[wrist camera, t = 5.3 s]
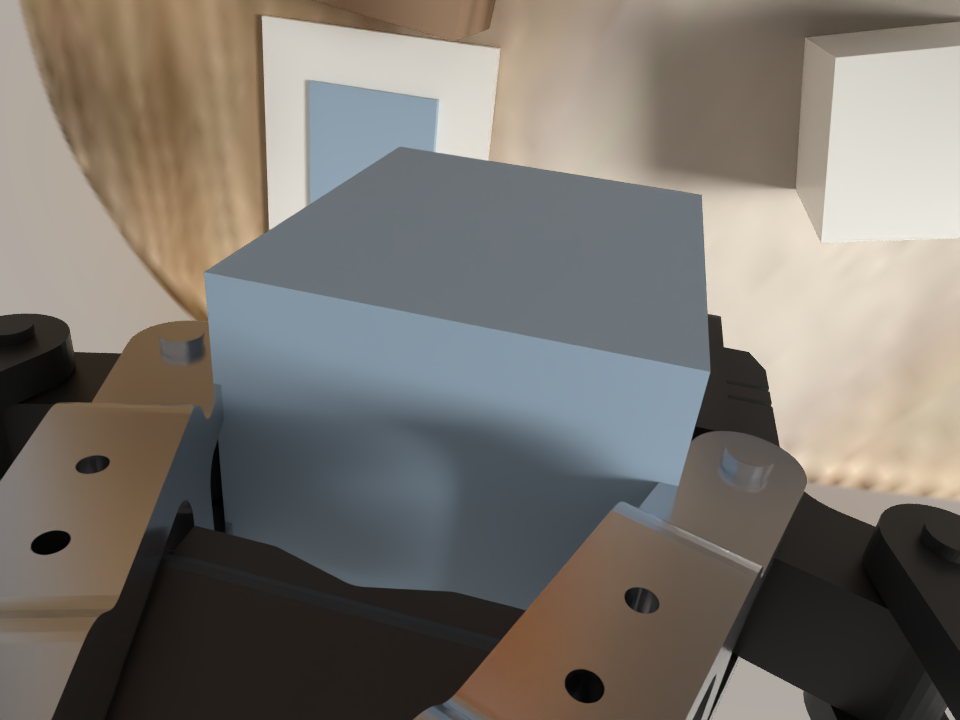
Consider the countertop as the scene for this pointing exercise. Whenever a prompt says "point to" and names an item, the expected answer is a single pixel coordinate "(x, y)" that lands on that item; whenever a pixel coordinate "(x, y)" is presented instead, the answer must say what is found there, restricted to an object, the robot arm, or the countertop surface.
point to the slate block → (458, 370)
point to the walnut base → (426, 14)
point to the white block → (881, 134)
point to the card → (365, 103)
